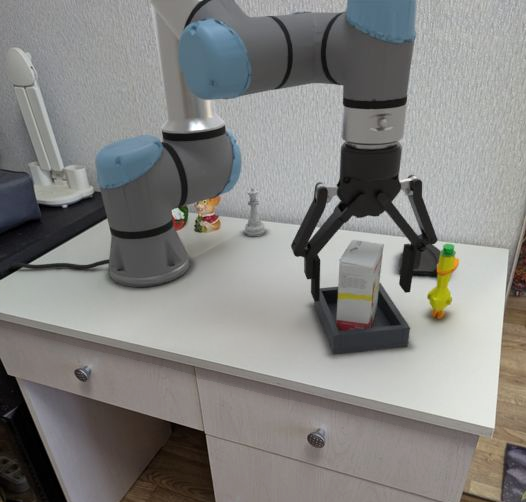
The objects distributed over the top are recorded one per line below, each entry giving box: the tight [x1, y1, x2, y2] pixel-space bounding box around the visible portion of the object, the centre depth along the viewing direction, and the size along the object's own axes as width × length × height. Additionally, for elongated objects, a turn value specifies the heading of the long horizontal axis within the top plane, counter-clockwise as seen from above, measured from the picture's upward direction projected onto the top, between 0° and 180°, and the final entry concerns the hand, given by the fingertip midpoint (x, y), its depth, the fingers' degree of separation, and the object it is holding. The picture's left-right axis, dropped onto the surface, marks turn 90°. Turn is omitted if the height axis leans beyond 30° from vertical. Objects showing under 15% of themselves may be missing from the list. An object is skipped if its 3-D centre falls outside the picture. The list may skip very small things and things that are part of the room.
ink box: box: [336, 239, 385, 331], centre depth 72 cm, size 9×5×12 cm, turn 159°
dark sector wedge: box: [398, 244, 441, 277], centre depth 94 cm, size 8×14×2 cm, turn 163°
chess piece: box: [244, 187, 266, 237], centre depth 106 cm, size 4×4×10 cm
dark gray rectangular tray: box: [313, 282, 411, 355], centre depth 76 cm, size 11×14×3 cm
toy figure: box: [426, 243, 460, 320], centre depth 75 cm, size 7×4×12 cm, turn 142°
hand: (360, 292), depth 73 cm, fingers open, 13 cm apart
